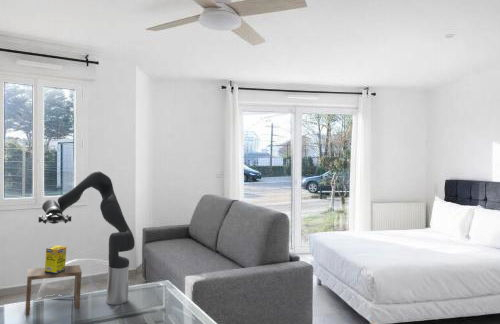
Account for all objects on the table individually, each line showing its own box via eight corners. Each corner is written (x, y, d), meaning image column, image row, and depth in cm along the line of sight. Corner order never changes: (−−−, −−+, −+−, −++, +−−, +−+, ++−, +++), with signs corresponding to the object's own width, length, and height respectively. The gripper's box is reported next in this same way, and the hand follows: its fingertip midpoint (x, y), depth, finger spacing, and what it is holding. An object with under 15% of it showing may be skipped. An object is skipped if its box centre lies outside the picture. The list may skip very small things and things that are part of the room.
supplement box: (56, 274, 164) (57, 250, 164) (44, 272, 166) (45, 248, 165) (65, 270, 170) (66, 246, 170) (53, 268, 171) (55, 244, 171)
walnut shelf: (77, 299, 180) (79, 265, 179) (79, 307, 171) (81, 271, 170) (25, 305, 169) (27, 269, 168) (25, 314, 160) (27, 276, 160)
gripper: (38, 207, 190) (39, 213, 176) (69, 207, 197) (72, 213, 183) (37, 222, 190) (38, 229, 176) (68, 221, 198) (71, 228, 184)
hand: (55, 221), depth 180 cm, fingers open, 8 cm apart
